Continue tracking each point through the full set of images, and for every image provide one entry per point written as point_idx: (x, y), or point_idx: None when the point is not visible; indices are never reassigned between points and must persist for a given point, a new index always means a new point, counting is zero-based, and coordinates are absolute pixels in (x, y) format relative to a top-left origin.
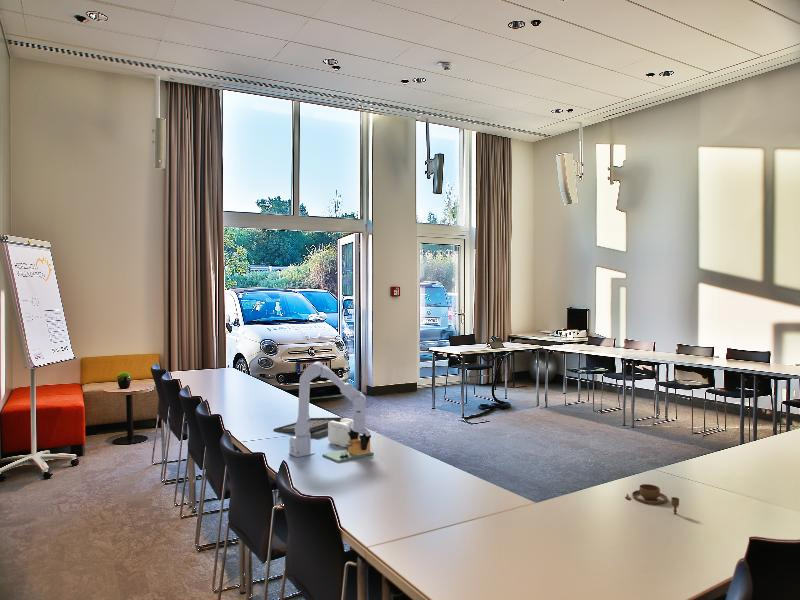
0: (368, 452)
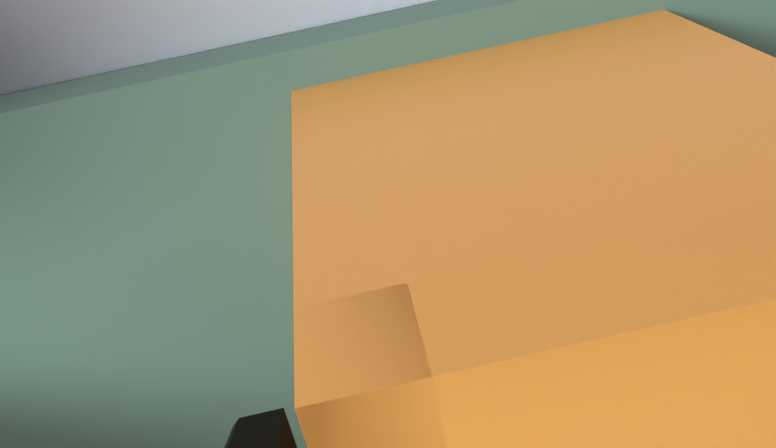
0: None
